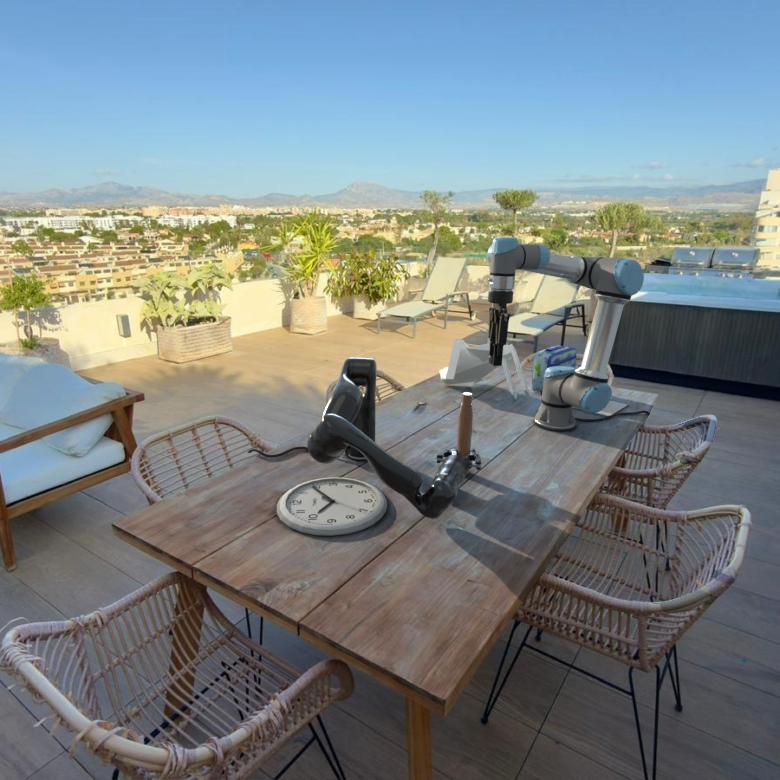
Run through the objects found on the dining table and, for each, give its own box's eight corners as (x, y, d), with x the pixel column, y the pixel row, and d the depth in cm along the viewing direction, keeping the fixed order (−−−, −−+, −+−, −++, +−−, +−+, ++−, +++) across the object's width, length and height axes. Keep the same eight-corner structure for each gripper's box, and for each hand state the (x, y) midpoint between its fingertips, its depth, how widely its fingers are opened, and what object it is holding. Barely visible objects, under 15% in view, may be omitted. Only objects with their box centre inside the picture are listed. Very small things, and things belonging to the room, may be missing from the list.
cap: (494, 361, 170) (495, 353, 169) (504, 363, 167) (504, 356, 166) (485, 362, 167) (486, 355, 167) (495, 365, 164) (495, 357, 164)
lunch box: (548, 398, 236) (553, 353, 229) (527, 393, 243) (531, 349, 237) (575, 387, 253) (581, 344, 247) (555, 382, 260) (560, 341, 254)
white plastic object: (461, 429, 252) (437, 405, 227) (444, 352, 274) (420, 323, 250) (535, 404, 240) (518, 377, 215) (510, 326, 262) (492, 293, 237)
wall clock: (392, 527, 129) (268, 531, 127) (391, 533, 130) (269, 537, 127) (383, 473, 158) (282, 475, 155) (383, 478, 158) (282, 480, 156)
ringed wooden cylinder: (471, 474, 162) (477, 394, 155) (461, 477, 160) (466, 396, 153) (463, 469, 166) (468, 390, 158) (453, 471, 164) (457, 392, 156)
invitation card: (608, 416, 214) (573, 407, 224) (608, 416, 214) (573, 408, 224) (628, 404, 229) (594, 396, 238) (628, 405, 229) (594, 397, 238)
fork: (410, 411, 216) (410, 407, 215) (421, 400, 230) (421, 396, 229) (416, 412, 215) (416, 408, 214) (427, 401, 229) (427, 396, 228)
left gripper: (427, 480, 152) (443, 457, 167) (476, 488, 147) (487, 464, 162) (428, 456, 149) (444, 435, 165) (478, 464, 145) (489, 442, 160)
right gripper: (481, 286, 168) (476, 357, 175) (497, 293, 152) (491, 370, 159) (504, 286, 169) (498, 357, 176) (522, 293, 152) (515, 370, 159)
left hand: (465, 449), depth 163 cm, fingers closed on ringed wooden cylinder, 4 cm apart
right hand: (495, 363), depth 167 cm, fingers closed on cap, 4 cm apart
